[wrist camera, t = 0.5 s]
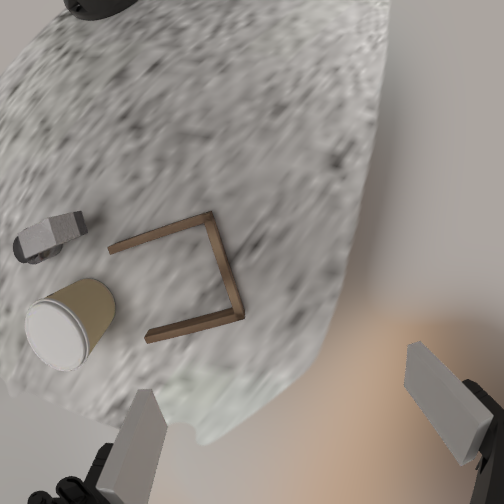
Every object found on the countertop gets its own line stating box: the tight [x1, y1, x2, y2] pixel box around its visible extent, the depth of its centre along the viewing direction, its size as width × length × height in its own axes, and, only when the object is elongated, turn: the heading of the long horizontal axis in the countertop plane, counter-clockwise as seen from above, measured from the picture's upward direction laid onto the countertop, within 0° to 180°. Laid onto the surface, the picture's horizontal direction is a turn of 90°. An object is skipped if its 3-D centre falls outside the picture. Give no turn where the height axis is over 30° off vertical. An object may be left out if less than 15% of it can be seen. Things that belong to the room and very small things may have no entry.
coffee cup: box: [25, 279, 115, 371], centre depth 35 cm, size 9×9×12 cm
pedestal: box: [23, 228, 63, 264], centre depth 36 cm, size 5×5×5 cm
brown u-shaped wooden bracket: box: [107, 211, 245, 344], centre depth 39 cm, size 14×14×2 cm
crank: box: [13, 211, 88, 263], centre depth 30 cm, size 12×4×7 cm, turn 107°
